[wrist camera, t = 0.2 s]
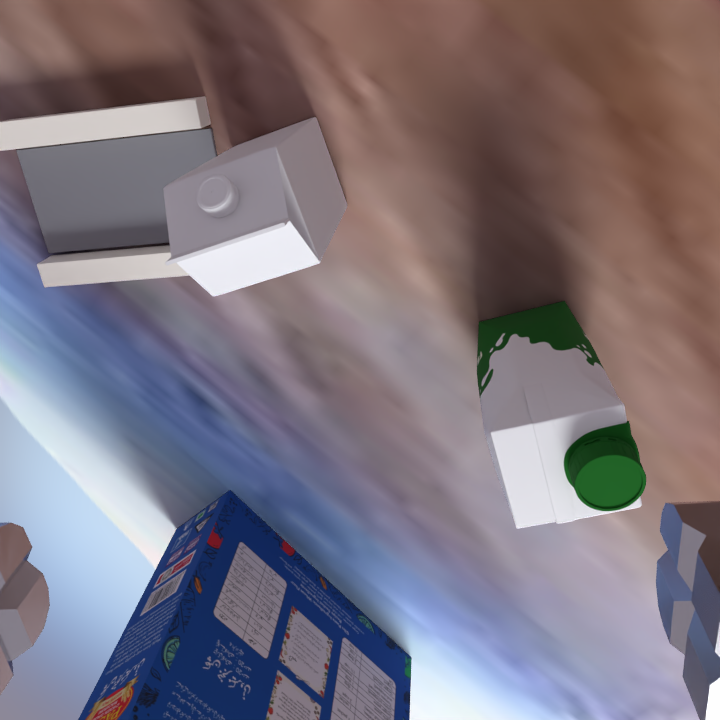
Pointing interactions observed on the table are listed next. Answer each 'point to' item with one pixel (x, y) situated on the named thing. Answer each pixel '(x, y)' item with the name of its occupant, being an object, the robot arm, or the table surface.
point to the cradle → (108, 184)
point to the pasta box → (247, 636)
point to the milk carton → (255, 210)
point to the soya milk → (554, 420)
